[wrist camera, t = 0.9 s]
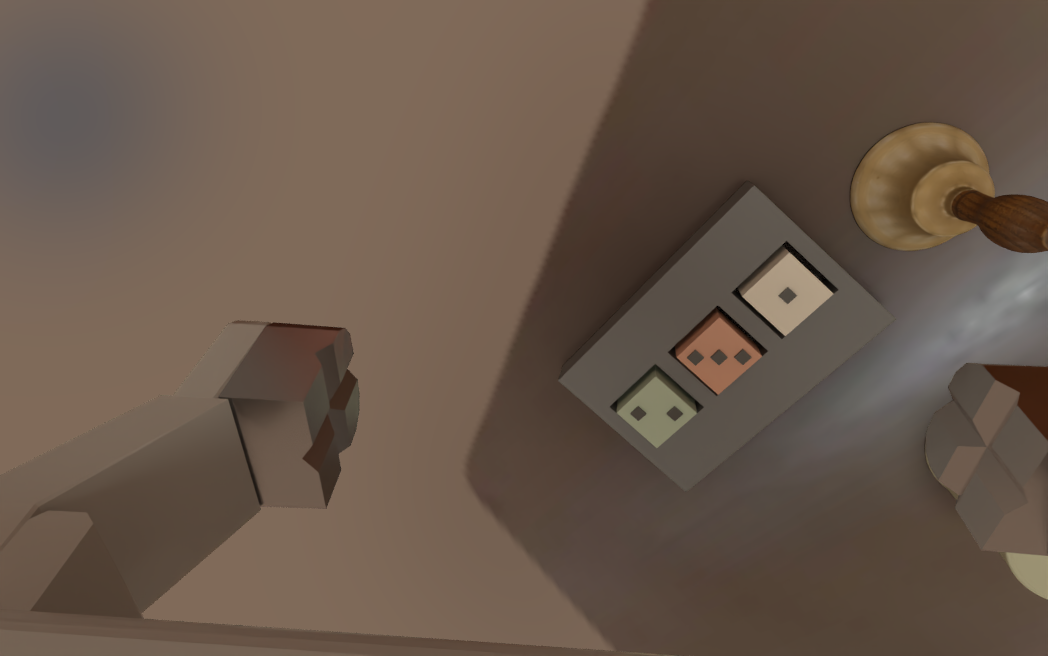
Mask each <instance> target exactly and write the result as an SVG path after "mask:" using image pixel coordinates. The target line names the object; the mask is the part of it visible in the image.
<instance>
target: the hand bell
mask: <svg viewBox="0 0 1048 656" xmlns="http://www.w3.org/2000/svg"><path fill="white" fill-rule="evenodd" d="M994 194H995V190H994V184H993V181H992V179H991V177H990V175H989V167H988V162H987V159H986V156H985V154H984V152H983V150H982V148H981V147H980V145H979V144H978V143H977V142H976V141H975V139H973V138H972V137H971V136H970V135H969V134H967V133H966V132H964V131H963V130H961V129H959V128H956V127H954V126H951V125H947V124H942V123H933V122H931V123H919V124H913V125H910V126H906V127H904V128H901V129H899V130H897V131H894V132H892V133H890V134H889V135H887V136H886V137H884V138H883V139H881V140H880V141H879V142H878V143H877V144H875V145H874V146H873V147H872V148H871V149H870V150H869V152H868V153H867V154H866V155H865V157H864V158H863V159H862V161H861V163H860V164H859V166H858V168H857V170H856V172H855V174H854V177H853V181H852V184H851V192H850V203H851V208H852V212H853V215H854V218H855V220H856V222H857V224H858V226H859V227H860V228H861V230H862V231H863V232H864V233H865V234H866V235H867V236H868V237H869V238H870V239H872V240H873V241H875V242H876V243H878V244H880V245H882V246H885V247H887V248H891V249H895V250H902V251H916V250H923V249H928V248H931V247H934V246H937V245H940V244H942V243H944V242H946V241H948V240H950V239H951V238H953V237H955V236H956V235H959V234H962V233H965V232H967V231H969V230H971V229H973V228H974V227H976V226H977V225H978V226H979V228H980V229H981V231H982V232H983V233H984V235H985V236H986V237H987V238H988V239H990V240H991V241H992V242H994V243H995V244H997V245H999V246H1001V247H1004V248H1006V249H1009V250H1011V251H1016V252H1021V253H1037V252H1043V251H1048V202H1047V201H1044V200H1042V199H1038V198H1035V197H1032V196H1026V195H1003V196H998V197H995V198H994Z"/></svg>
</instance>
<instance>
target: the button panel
mask: <svg viewBox="0 0 1048 656" xmlns="http://www.w3.org/2000/svg"><path fill="white" fill-rule="evenodd" d="M786 241H787V242H788V243H789V244H790V245H791V246H792V247H794V248H795V249H796V250H797V251H798V252H799V253H800V254H801V255H802V256H803V257H804V258H805V259H806V260H807V261H808V262H810V263H811V264H812V265H813V266H814V267H815V268H816V269H817V270H818V271H819V272H820V273H821V274H822V275H823V276H824V277H826V278H827V279H826V280H824V281H823V282H822V283H823V284H824V285H825V286H826V287H827V288H828V289H829V290H830V291H831V292H832V293H833V295H832V296H831V297H830V298H829V299H827V300H826V301H825V302H824V303H823V304H822V305H821V306H819V307H818V308H817V309H816V310H815V311H814V312H813V313H811V314H810V315H809V316H808V317H807V318H806V319H804V320H803V321H802V322H801V323H800V324H799V325H798V326H796V327H795V328H794V329H793V330H792V331H791V332H790V333H788V334H787V335H786V336H785V335H783V334H782V333H781V332H780V331H779V330H778V329H777V328H776V327H775V326H773V325H772V324H771V323H770V322H769V321H768V320H767V319H766V318H765V317H764V316H763V315H761V314H760V313H759V312H758V311H757V310H756V309H755V308H754V307H753V306H752V305H751V304H750V303H748V302H747V301H746V300H745V299H744V298H743V297H742V296H741V295H740V294H739V293H738V292H736V291H735V289H736V288H737V287H738V286H739V285H740V284H741V283H742V282H743V281H744V280H745V279H746V278H747V277H748V276H750V275H751V274H752V273H753V272H754V271H755V270H756V269H757V268H758V267H759V266H760V265H761V264H762V263H763V262H764V261H766V260H767V259H768V258H769V257H770V256H771V255H772V254H773V253H774V252H775V251H776V250H777V249H778V248H779V247H780V246H782V245H783V244H784V243H785V242H786ZM716 306H720V307H721V308H722V309H723V310H724V311H725V312H726V313H727V314H728V315H729V316H730V317H732V318H733V319H734V320H735V321H736V322H737V323H738V324H739V325H740V326H741V327H743V328H744V329H745V330H746V331H747V332H748V333H749V334H750V335H751V336H752V337H753V338H755V339H756V340H757V341H756V342H755V344H756V345H757V347H758V349H759V351H760V353H761V355H762V357H761V358H760V359H759V360H758V361H756V362H755V363H754V364H753V365H752V366H751V367H750V368H748V369H747V370H746V371H745V372H744V373H743V374H742V375H740V376H739V377H738V378H737V379H736V380H735V381H734V382H732V383H731V384H730V385H729V386H728V387H727V388H726V389H724V390H723V391H722V392H721V393H720V394H719V395H718V394H717V393H716V392H714V391H713V390H712V389H711V388H710V387H709V386H708V385H707V384H706V383H704V382H703V381H702V380H701V379H700V378H699V377H698V376H697V375H696V374H694V373H693V372H692V371H691V370H690V369H689V368H688V367H687V366H686V365H684V364H683V363H682V362H681V361H680V360H679V359H678V358H677V357H676V351H675V345H676V344H677V343H678V342H679V341H680V340H681V339H682V338H683V337H684V336H686V335H687V334H688V333H689V332H690V331H691V330H692V329H693V328H694V327H695V326H696V325H697V324H698V323H699V322H700V321H702V320H703V319H704V318H705V317H706V316H707V315H708V314H709V313H710V312H711V311H712V310H713V309H714V308H715V307H716ZM895 320H896V318H895V317H894V316H892V315H891V314H890V313H889V312H888V311H887V310H886V309H885V308H884V307H883V306H882V305H881V304H880V303H879V302H878V301H877V300H875V299H874V298H873V297H872V296H871V295H870V294H869V293H868V292H867V291H866V290H865V289H864V288H863V287H862V286H861V285H860V284H859V283H857V282H856V281H855V280H854V279H853V278H852V277H851V276H850V275H849V274H848V273H847V272H846V271H845V270H844V269H843V268H842V267H840V266H839V265H838V264H837V263H836V262H835V261H834V260H833V259H832V258H831V257H830V256H829V255H828V254H827V253H826V252H825V251H823V250H822V249H821V248H820V247H819V246H818V245H817V244H816V243H815V242H814V241H813V240H812V239H811V238H810V237H809V236H808V235H806V234H805V233H804V232H803V231H802V230H801V229H800V228H799V227H798V226H797V225H796V224H795V223H794V222H793V221H792V220H791V219H789V218H788V217H787V216H786V215H785V214H784V213H783V212H782V211H781V210H780V209H779V208H778V207H777V206H776V205H775V204H774V203H773V202H771V201H770V200H769V199H768V198H767V197H766V196H765V195H764V194H763V193H762V192H761V191H760V190H759V189H758V188H757V187H756V186H754V185H753V184H752V183H750V182H749V181H746V182H745V183H744V184H743V185H742V186H741V187H740V188H739V189H738V190H737V191H736V192H735V193H734V194H733V195H732V196H731V197H730V198H729V199H728V200H727V201H726V202H725V203H724V204H723V205H722V206H721V207H720V208H719V209H718V210H717V211H716V212H715V213H714V214H713V215H712V216H711V217H710V218H709V219H708V220H707V221H706V222H705V223H704V224H703V225H702V226H701V227H700V228H699V229H698V230H697V231H696V232H695V233H694V234H693V235H692V236H691V237H690V238H689V239H688V240H687V241H686V242H685V243H684V244H683V245H682V246H681V247H680V248H679V249H678V250H677V251H676V252H675V253H674V254H673V255H672V256H671V257H670V258H669V259H668V260H667V261H666V262H665V263H664V264H663V265H662V267H661V268H660V269H659V270H658V271H657V272H656V273H655V274H654V275H653V276H652V277H651V278H650V279H649V280H648V281H647V282H646V283H645V284H644V285H643V286H642V287H641V288H640V289H639V290H638V291H637V292H636V293H635V294H634V295H633V296H632V297H631V298H630V299H629V300H628V301H627V302H626V303H625V304H624V305H623V306H622V307H621V308H620V309H619V310H618V311H617V312H616V313H615V314H614V315H613V316H612V317H611V318H610V319H609V320H608V321H607V322H606V323H605V324H604V325H603V326H602V327H601V328H600V329H599V330H598V331H597V332H596V333H595V334H594V335H593V336H592V337H591V338H590V339H589V340H588V341H587V342H586V343H585V344H584V345H583V346H582V347H581V348H580V349H579V350H578V351H577V352H576V353H575V354H574V355H573V356H572V357H571V358H570V359H569V360H568V361H567V362H566V363H565V364H564V365H563V366H562V370H561V373H560V376H559V380H558V381H559V382H560V383H561V384H563V385H564V386H565V387H566V388H567V389H568V390H569V391H571V392H572V393H573V394H574V395H575V396H576V397H577V398H579V399H580V400H581V401H582V402H583V403H584V404H585V405H587V406H588V407H589V408H590V409H591V410H592V411H593V412H595V413H596V414H597V415H598V416H599V417H600V418H601V419H603V420H604V421H605V422H606V423H607V424H608V425H609V426H611V427H612V428H613V429H614V430H615V431H616V432H617V433H619V434H620V435H621V436H622V437H623V438H624V439H625V440H627V441H628V442H629V443H630V444H631V445H632V446H633V447H635V448H636V449H637V450H638V451H639V452H640V453H641V454H643V455H644V456H645V457H646V458H647V459H648V460H649V461H651V462H652V463H653V464H654V465H655V466H656V467H657V468H659V469H660V470H661V471H662V472H663V473H664V474H665V475H667V476H668V477H669V478H670V479H671V480H672V481H673V482H675V483H676V484H677V485H678V486H679V487H680V488H682V489H683V490H684V491H685V492H687V491H688V490H690V489H691V488H692V487H693V486H694V485H696V484H697V483H698V482H699V481H701V480H702V479H703V478H704V477H705V476H707V475H708V474H709V473H710V472H711V471H713V470H714V469H715V468H716V467H718V466H719V465H720V464H721V463H722V462H724V461H725V460H726V459H727V458H728V457H730V456H731V455H732V454H733V453H735V452H736V451H737V450H738V449H739V448H741V447H742V446H743V445H744V444H745V443H747V442H748V441H749V440H750V439H752V438H753V437H754V436H755V435H756V434H758V433H759V432H760V431H761V430H762V429H764V428H765V427H766V426H767V425H769V424H770V423H771V422H772V421H773V420H775V419H776V418H777V417H778V416H779V415H781V414H782V413H783V412H784V411H786V410H787V409H788V408H789V407H790V406H792V405H793V404H794V403H795V402H796V401H798V400H799V399H800V398H801V397H803V396H804V395H805V394H806V393H807V392H809V391H810V390H811V389H812V388H813V387H815V386H816V385H817V384H818V383H820V382H821V381H822V380H823V379H824V378H826V377H827V376H828V375H829V374H830V373H832V372H833V371H834V370H835V369H837V368H838V367H839V366H840V365H841V364H843V363H844V362H845V361H846V360H848V359H849V358H850V357H851V356H852V355H854V354H855V353H856V352H857V351H858V350H860V349H861V348H862V347H863V346H865V345H866V344H867V343H868V342H869V341H871V340H872V339H873V338H874V337H875V336H877V335H878V334H879V333H880V332H882V331H883V330H884V329H885V328H886V327H888V326H889V325H890V324H891V323H892V322H894V321H895ZM655 364H656V365H657V366H659V367H660V368H661V369H662V370H663V371H664V372H665V373H666V374H668V375H669V376H670V377H671V378H672V379H673V380H674V381H675V382H676V383H678V384H679V385H680V386H681V387H682V388H683V389H684V390H685V391H687V392H688V393H689V394H690V395H691V396H692V397H693V398H694V399H695V404H696V409H697V414H696V415H695V416H693V417H692V418H691V419H690V420H689V421H688V422H687V423H685V424H684V425H683V426H682V427H681V428H680V429H679V430H677V431H676V432H675V433H674V434H673V435H672V436H671V437H669V438H668V439H667V440H666V441H665V442H664V443H663V444H661V445H660V446H659V447H658V448H656V447H655V446H654V445H653V444H651V443H650V442H649V441H648V440H647V439H646V438H645V437H643V436H642V435H641V434H640V433H639V432H638V431H637V430H635V429H634V428H633V427H632V426H631V425H630V424H629V423H627V422H626V421H625V420H624V419H623V418H622V417H621V416H619V415H618V414H617V401H618V398H619V397H620V396H622V395H623V394H624V393H625V392H626V391H627V390H628V389H629V388H630V387H631V386H632V385H633V384H634V383H635V382H636V381H638V380H639V379H640V378H641V377H642V376H643V375H644V374H645V373H646V372H647V371H648V370H649V369H650V368H651V367H652V366H654V365H655Z"/></svg>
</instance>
